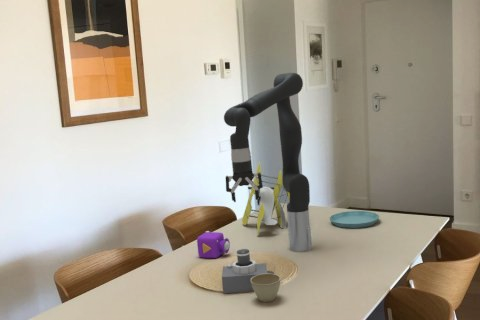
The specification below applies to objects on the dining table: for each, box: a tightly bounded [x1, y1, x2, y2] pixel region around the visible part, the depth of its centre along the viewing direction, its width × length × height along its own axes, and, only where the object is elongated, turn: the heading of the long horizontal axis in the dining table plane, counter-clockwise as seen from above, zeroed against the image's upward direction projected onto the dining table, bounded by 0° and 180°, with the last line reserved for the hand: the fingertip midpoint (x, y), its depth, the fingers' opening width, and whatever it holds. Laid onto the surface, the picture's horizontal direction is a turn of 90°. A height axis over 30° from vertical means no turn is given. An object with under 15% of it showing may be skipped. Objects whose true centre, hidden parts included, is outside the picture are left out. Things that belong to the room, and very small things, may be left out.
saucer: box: [329, 210, 380, 229], centre depth 256 cm, size 24×24×3 cm
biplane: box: [241, 161, 290, 237], centre depth 255 cm, size 39×30×20 cm
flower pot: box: [251, 273, 281, 303], centre depth 171 cm, size 10×10×7 cm
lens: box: [236, 248, 251, 266], centre depth 184 cm, size 5×5×7 cm
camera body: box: [221, 259, 268, 294], centre depth 184 cm, size 16×11×8 cm
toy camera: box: [196, 230, 231, 259], centre depth 222 cm, size 11×14×10 cm
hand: (245, 200), depth 200 cm, fingers open, 8 cm apart
